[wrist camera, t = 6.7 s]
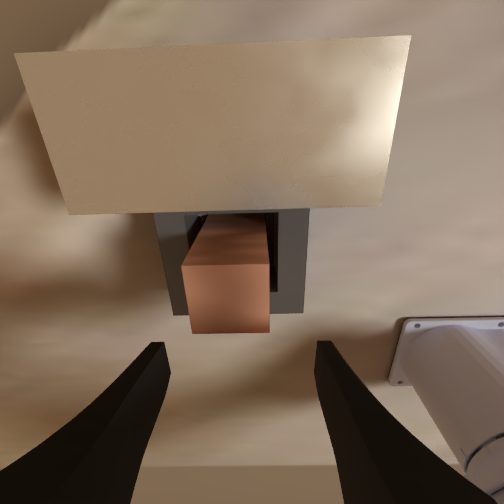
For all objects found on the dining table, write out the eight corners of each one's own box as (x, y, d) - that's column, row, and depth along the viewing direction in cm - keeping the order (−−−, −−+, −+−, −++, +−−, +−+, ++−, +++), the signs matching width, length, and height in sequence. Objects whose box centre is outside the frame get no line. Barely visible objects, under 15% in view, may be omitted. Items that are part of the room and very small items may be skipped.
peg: (264, 212, 19) (269, 263, 12) (264, 261, 21) (269, 332, 14) (209, 213, 19) (181, 265, 12) (214, 262, 21) (192, 333, 14)
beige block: (347, 73, 15) (410, 35, 9) (336, 178, 18) (380, 206, 12) (111, 83, 16) (13, 53, 9) (133, 184, 18) (69, 215, 12)
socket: (301, 170, 18) (311, 179, 15) (296, 286, 22) (303, 313, 19) (166, 174, 18) (147, 184, 15) (185, 288, 22) (173, 315, 19)
